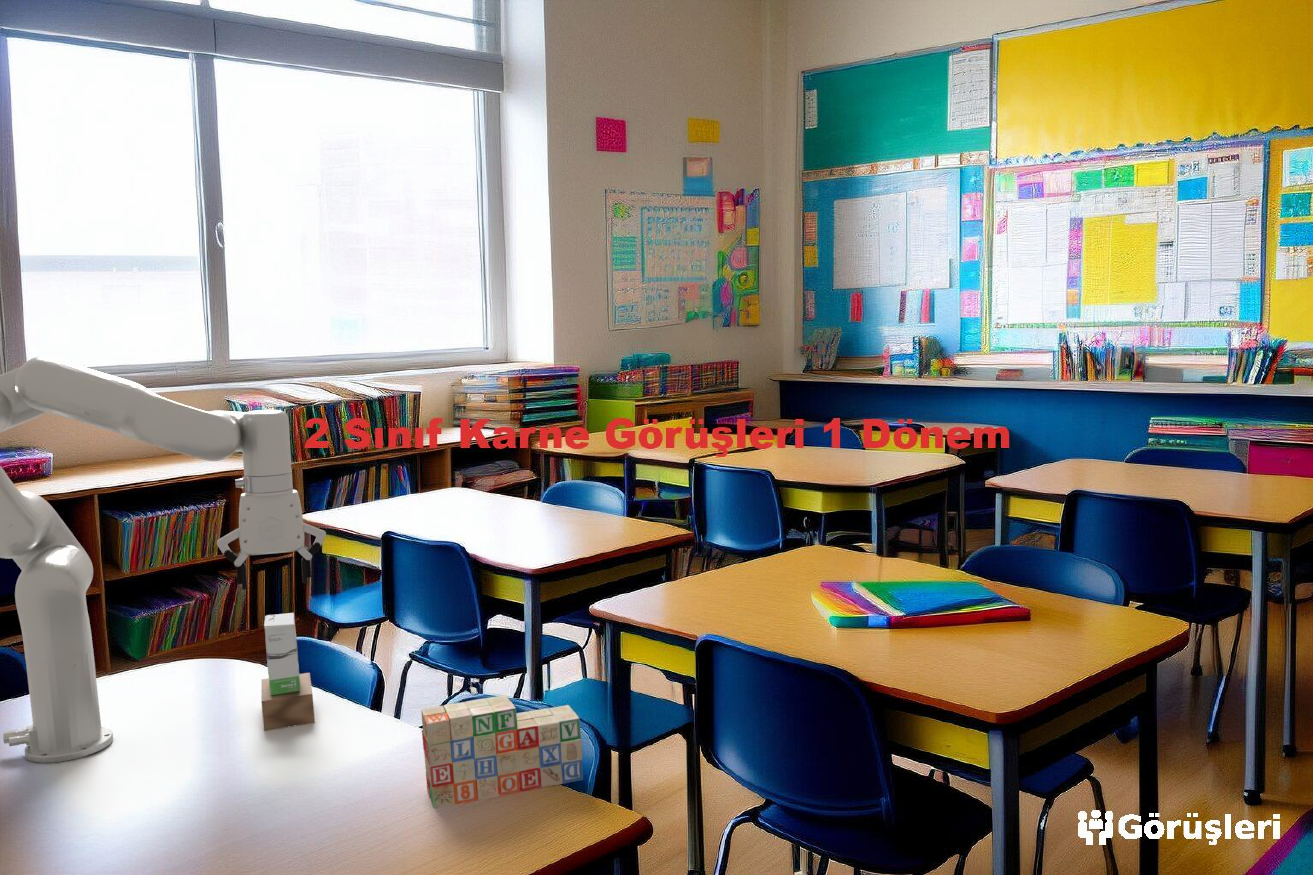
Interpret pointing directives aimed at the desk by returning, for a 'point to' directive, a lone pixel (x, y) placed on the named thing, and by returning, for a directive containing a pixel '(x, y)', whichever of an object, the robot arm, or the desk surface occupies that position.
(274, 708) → the walnut block
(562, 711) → the stack of blocks
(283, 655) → the ink box
